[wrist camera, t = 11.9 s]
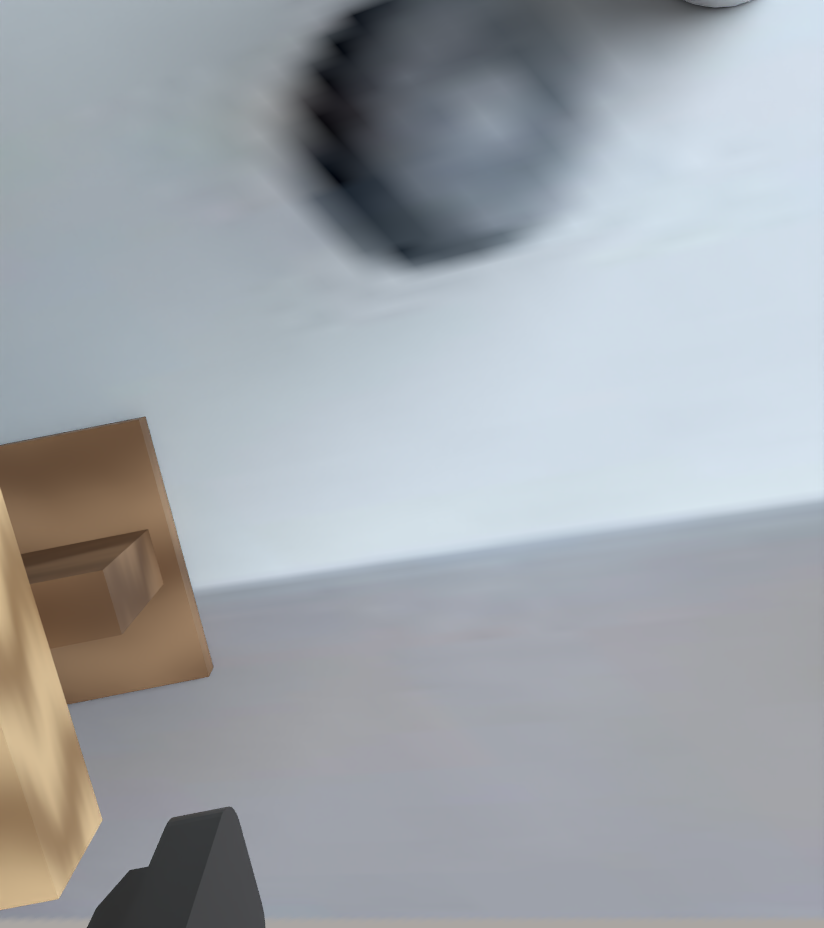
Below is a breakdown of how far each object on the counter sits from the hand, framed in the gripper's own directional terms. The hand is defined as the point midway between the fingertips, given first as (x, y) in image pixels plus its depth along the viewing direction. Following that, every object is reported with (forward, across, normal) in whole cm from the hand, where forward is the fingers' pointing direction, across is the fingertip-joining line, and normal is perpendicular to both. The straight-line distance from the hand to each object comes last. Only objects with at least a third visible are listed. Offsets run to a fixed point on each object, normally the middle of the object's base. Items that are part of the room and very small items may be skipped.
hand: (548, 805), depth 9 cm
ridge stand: (+28, +20, +3) cm, 35 cm away
